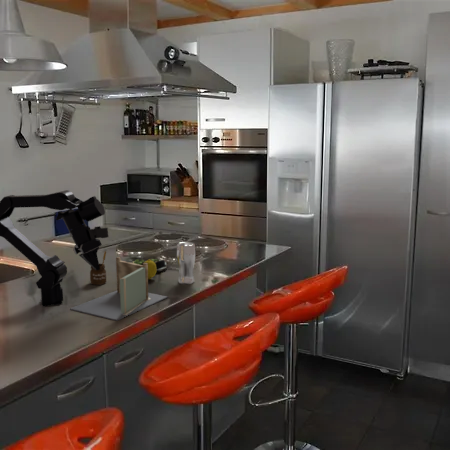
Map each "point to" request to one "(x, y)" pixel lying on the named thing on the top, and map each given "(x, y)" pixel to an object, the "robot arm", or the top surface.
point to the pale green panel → (132, 289)
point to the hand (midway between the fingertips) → (98, 269)
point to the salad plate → (160, 264)
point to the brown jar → (98, 274)
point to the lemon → (151, 268)
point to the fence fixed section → (127, 268)
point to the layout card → (114, 306)
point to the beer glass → (186, 262)
